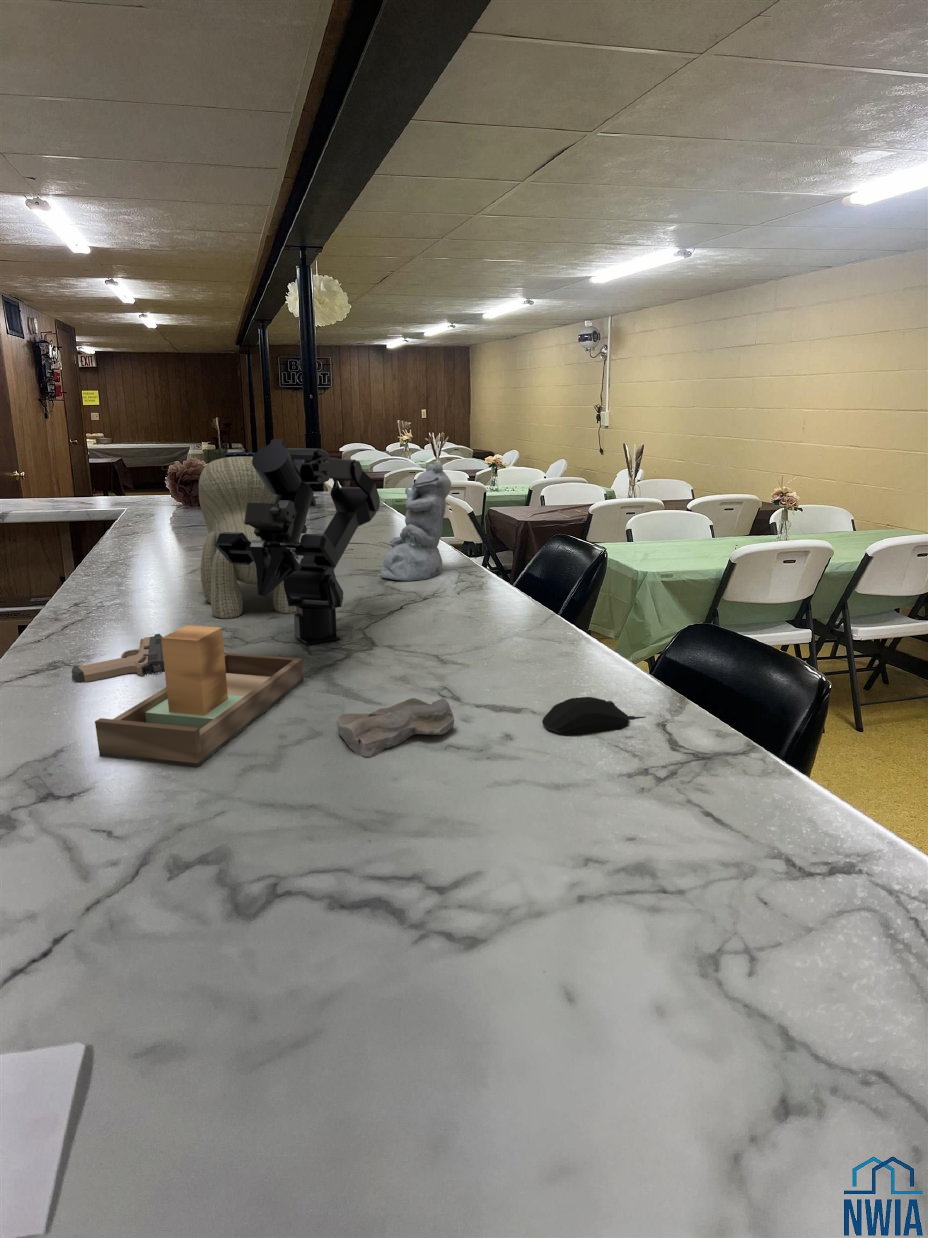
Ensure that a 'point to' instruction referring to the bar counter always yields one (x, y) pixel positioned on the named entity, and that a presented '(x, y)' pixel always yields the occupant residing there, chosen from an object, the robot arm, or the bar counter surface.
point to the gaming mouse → (585, 717)
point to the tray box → (191, 746)
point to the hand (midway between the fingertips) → (261, 595)
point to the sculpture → (420, 529)
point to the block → (195, 669)
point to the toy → (224, 511)
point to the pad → (165, 717)
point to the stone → (394, 725)
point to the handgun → (125, 662)
